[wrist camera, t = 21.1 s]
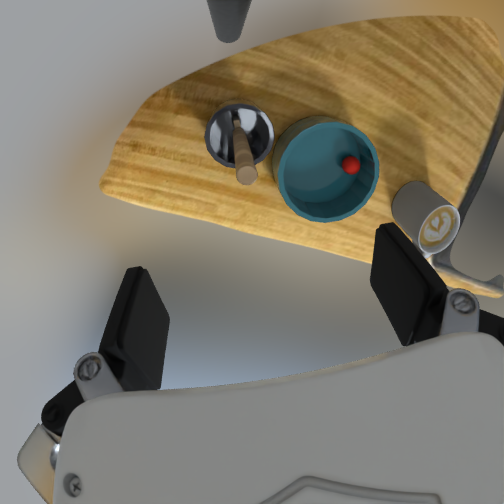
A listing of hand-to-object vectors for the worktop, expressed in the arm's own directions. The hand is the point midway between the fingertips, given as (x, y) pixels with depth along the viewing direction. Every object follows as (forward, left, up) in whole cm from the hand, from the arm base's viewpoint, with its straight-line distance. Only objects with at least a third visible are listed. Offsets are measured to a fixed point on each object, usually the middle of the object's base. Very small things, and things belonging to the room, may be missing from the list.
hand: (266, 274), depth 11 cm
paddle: (0, 0, -34) cm, 34 cm away
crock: (0, 0, -34) cm, 34 cm away
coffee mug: (+20, +31, -34) cm, 51 cm away
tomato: (+8, +17, -32) cm, 37 cm away
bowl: (+8, +12, -34) cm, 37 cm away
